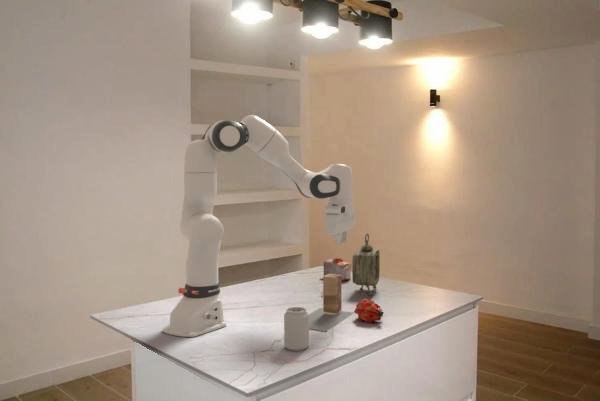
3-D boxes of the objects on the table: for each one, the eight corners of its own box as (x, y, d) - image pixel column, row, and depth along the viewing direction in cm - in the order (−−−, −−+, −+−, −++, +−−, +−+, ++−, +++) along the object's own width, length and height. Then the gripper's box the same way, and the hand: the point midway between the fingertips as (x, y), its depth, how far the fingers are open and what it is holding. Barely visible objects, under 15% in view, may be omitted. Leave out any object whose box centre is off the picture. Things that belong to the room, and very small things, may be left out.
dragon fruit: (357, 321, 204) (381, 334, 194) (344, 311, 199) (368, 324, 189) (369, 300, 205) (393, 313, 196) (357, 290, 200) (381, 302, 191)
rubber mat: (326, 332, 186) (326, 331, 186) (289, 326, 193) (289, 325, 193) (354, 313, 207) (354, 312, 207) (320, 308, 214) (320, 307, 214)
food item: (354, 279, 262) (354, 258, 261) (342, 282, 257) (342, 261, 256) (332, 275, 272) (332, 255, 271) (320, 278, 266) (320, 257, 265)
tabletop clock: (373, 296, 231) (373, 236, 229) (351, 295, 234) (351, 235, 232) (379, 288, 245) (379, 231, 243) (359, 287, 248) (359, 230, 245)
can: (308, 343, 176) (308, 305, 175) (309, 351, 169) (309, 312, 168) (284, 343, 176) (284, 306, 175) (284, 352, 168) (284, 313, 167)
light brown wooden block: (335, 315, 204) (335, 277, 203) (323, 313, 206) (323, 276, 205) (341, 312, 208) (341, 274, 207) (329, 310, 210) (329, 273, 209)
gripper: (344, 204, 221) (344, 238, 223) (321, 209, 203) (322, 246, 205) (359, 204, 218) (359, 240, 220) (337, 209, 200) (337, 248, 202)
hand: (341, 243), depth 212 cm, fingers open, 4 cm apart
